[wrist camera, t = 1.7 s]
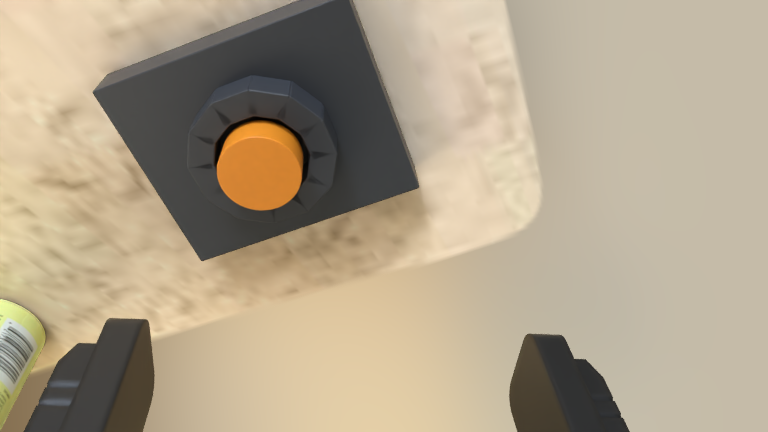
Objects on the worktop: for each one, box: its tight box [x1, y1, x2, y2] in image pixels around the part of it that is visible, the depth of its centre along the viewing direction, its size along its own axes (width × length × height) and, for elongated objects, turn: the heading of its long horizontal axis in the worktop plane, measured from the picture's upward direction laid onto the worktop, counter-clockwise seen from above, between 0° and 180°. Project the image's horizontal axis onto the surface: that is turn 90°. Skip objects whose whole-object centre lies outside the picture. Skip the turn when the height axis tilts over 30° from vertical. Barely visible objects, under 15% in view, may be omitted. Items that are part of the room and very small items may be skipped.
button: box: [217, 120, 303, 210], centre depth 28 cm, size 4×4×2 cm
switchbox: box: [93, 0, 419, 261], centre depth 30 cm, size 12×10×4 cm
